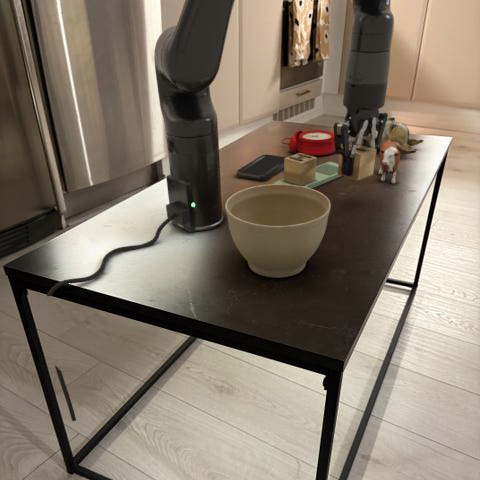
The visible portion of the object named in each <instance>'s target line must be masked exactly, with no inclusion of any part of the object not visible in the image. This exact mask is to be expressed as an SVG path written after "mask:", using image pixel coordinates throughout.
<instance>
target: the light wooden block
mask: <svg viewBox="0 0 480 480" xmlns="http://www.w3.org/2000/svg"><path fill="white" fill-rule="evenodd" d="M285 157H286V158H284V168H283V179H284V180H285V181H288V182H291V183H294V184H297V185H300V186H301V185H303V184H306V183H308V182H311V181H314V180H315V177H316V166H317V156H313V155H305V154H302V153H299V152H298V153H294V154H292V155H289V156H285Z"/></svg>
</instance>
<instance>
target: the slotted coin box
mask: <svg viewBox="0 0 480 480" xmlns="http://www.w3.org/2000/svg"><path fill="white" fill-rule="evenodd" d="M351 146H352V145H349V150H350V149H351ZM377 149H378V148H375V149H374V148H369V147H365V146H361V144H360V145H358V146H357V148H356V152H355V155H354V165H353V174H352V175H351V176H345V175H343V174H342V172H341V167H342V155H340V154H338V155H339V157H338V164H339V165H338V175H341V177H345V178H347V179H351V180H354V181H360V180H363V179H366V178H368V177H371V176H374V170H375V164H376V157H377Z"/></svg>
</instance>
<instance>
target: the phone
mask: <svg viewBox="0 0 480 480" xmlns="http://www.w3.org/2000/svg"><path fill="white" fill-rule="evenodd" d="M286 157H287V156H283V155H282V156H281V155H273V154H269V153H268V154H265V153H264V154H262V155H260V156H258V157H256V158H255V159H254V160H252V161H250V162H249V163H247V164H245V165H244V166H242V167H241V168H239V169H237V170H236V177H237V178H240V179H241V178H242V179H247V180H253V181H259V182H264V181H267V180H269V179H270V178H271V177H273V176H275V175H277V173H279V172H280V171H282V170H284V158H286Z"/></svg>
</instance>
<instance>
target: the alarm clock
mask: <svg viewBox="0 0 480 480" xmlns="http://www.w3.org/2000/svg"><path fill="white" fill-rule="evenodd" d="M284 140H289V142H283V141H284ZM280 143H281V144H283V145H287V146H289V150H290V152H291V153H292V154H297V152H298V153H301V154H305V155H309V156H326V155H331V154H334V153H335V143H334V132H331V131H328V130H317V129H315V130H307V131H302V130H296V131H295V132H294V133H293V135H292V136H291V137H284V138H282V139H281V141H280Z"/></svg>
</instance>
